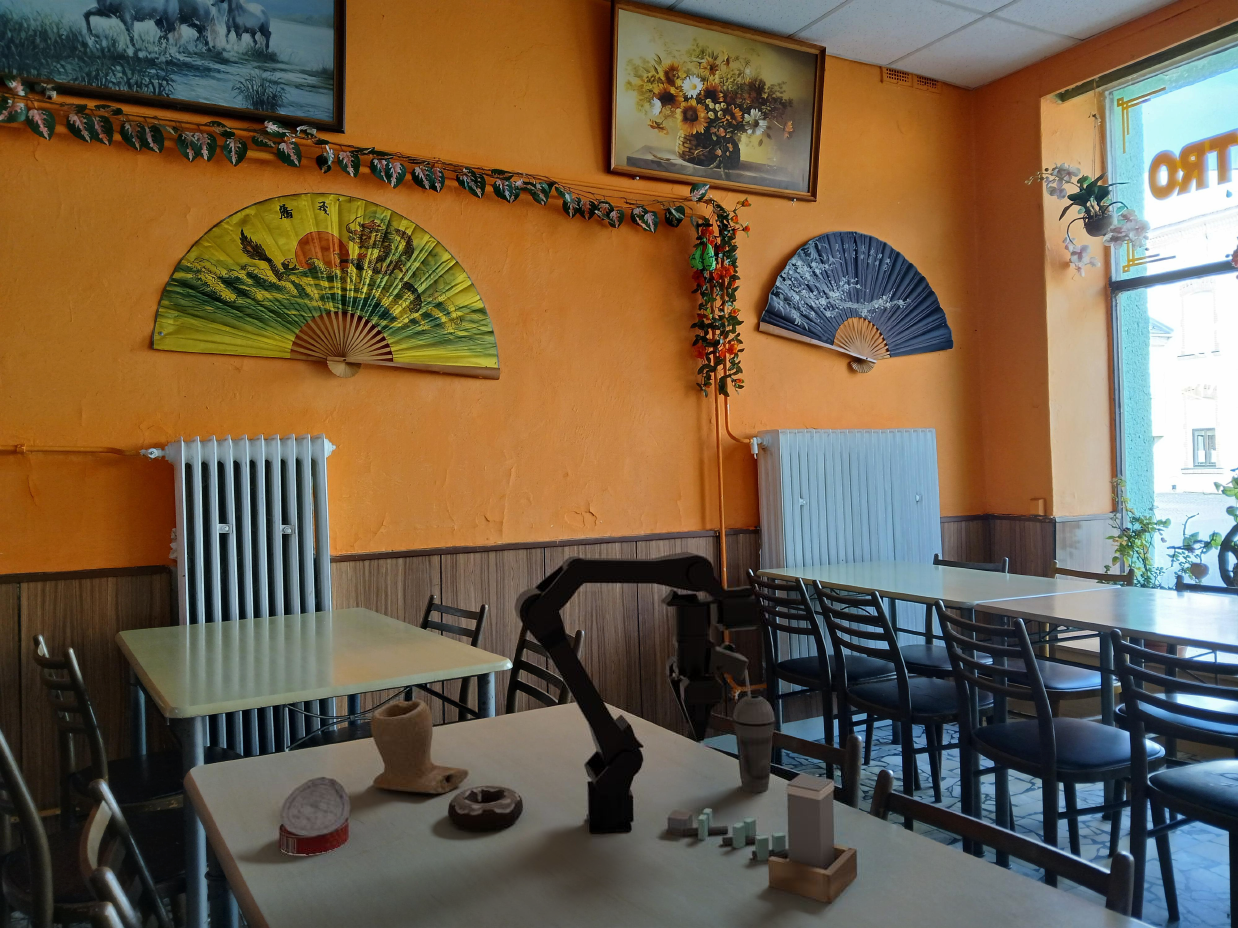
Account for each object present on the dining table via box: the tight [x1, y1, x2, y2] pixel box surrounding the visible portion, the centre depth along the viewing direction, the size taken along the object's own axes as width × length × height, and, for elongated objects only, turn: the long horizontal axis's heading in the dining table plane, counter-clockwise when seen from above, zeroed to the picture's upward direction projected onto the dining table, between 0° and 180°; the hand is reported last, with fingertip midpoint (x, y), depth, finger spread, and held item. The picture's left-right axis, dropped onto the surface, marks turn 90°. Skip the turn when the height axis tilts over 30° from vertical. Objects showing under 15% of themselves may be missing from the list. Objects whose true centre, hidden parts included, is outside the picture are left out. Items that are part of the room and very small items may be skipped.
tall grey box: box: [785, 773, 835, 870], centre depth 117 cm, size 5×5×13 cm
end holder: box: [768, 843, 858, 904], centre depth 117 cm, size 8×9×4 cm
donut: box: [447, 784, 524, 832], centre depth 140 cm, size 12×12×4 cm
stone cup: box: [370, 699, 470, 794], centre depth 154 cm, size 15×12×15 cm
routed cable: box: [682, 825, 789, 859], centre depth 129 cm, size 13×10×1 cm
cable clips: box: [697, 807, 787, 861], centre depth 129 cm, size 6×14×3 cm, turn 46°
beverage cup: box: [732, 669, 776, 793], centre depth 151 cm, size 7×7×20 cm
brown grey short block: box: [667, 809, 694, 837], centre depth 134 cm, size 3×3×2 cm
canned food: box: [278, 776, 352, 855], centre depth 133 cm, size 11×10×10 cm
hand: (694, 731), depth 140 cm, fingers open, 9 cm apart
